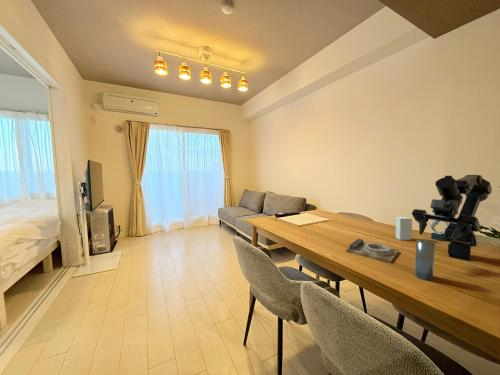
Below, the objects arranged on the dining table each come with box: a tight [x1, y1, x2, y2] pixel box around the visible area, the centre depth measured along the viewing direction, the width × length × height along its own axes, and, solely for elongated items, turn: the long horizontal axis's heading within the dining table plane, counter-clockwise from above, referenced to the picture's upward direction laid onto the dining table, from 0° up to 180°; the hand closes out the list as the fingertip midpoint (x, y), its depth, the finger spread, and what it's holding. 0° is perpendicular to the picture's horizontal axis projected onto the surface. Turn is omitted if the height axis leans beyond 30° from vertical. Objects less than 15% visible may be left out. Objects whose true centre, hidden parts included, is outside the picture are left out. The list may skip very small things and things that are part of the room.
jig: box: [345, 238, 400, 264], centre depth 98 cm, size 18×16×3 cm
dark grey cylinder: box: [414, 239, 436, 282], centre depth 74 cm, size 5×5×13 cm
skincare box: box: [395, 216, 413, 241], centre depth 114 cm, size 6×4×12 cm
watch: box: [429, 220, 449, 242], centre depth 112 cm, size 6×8×11 cm
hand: (435, 237), depth 77 cm, fingers open, 9 cm apart
